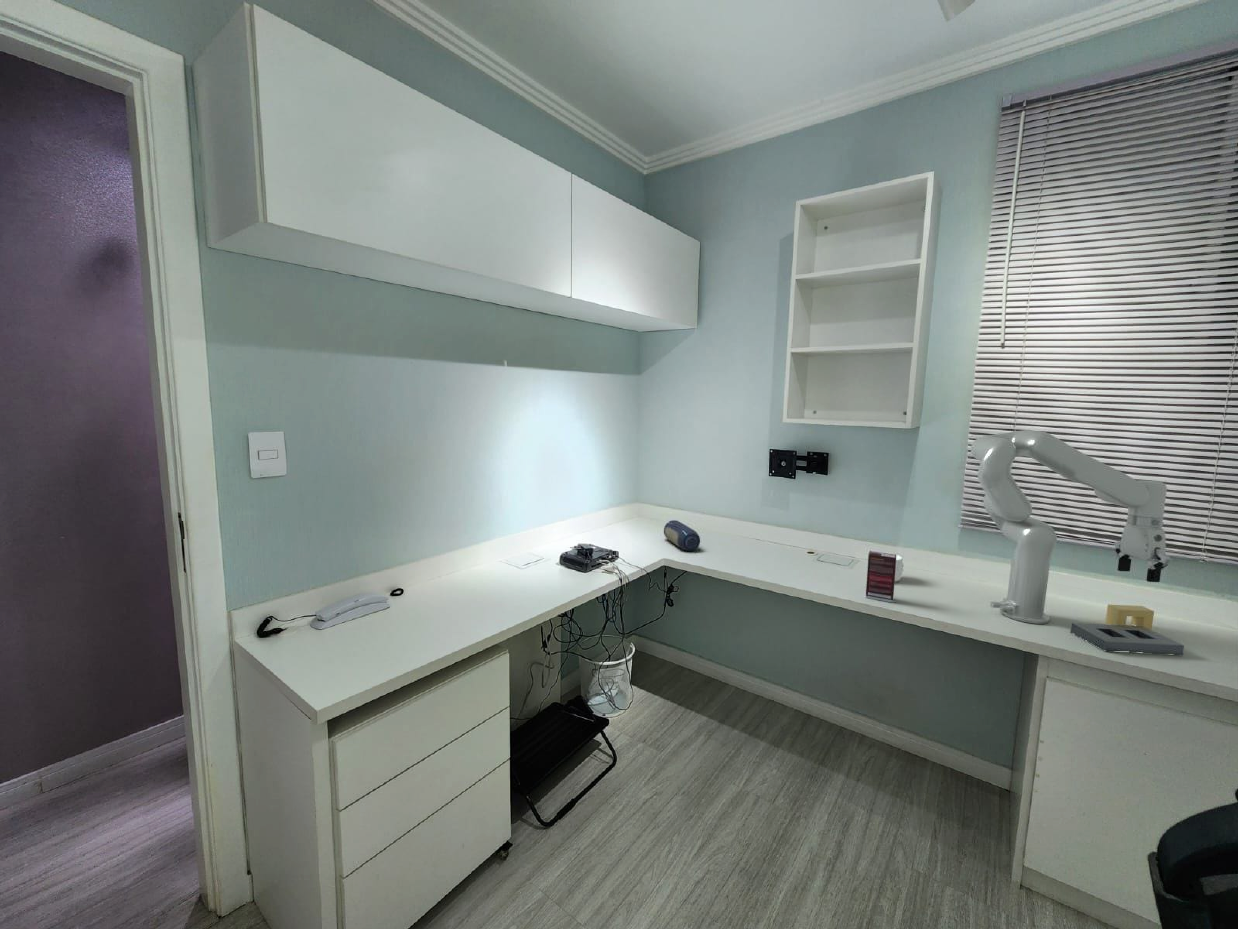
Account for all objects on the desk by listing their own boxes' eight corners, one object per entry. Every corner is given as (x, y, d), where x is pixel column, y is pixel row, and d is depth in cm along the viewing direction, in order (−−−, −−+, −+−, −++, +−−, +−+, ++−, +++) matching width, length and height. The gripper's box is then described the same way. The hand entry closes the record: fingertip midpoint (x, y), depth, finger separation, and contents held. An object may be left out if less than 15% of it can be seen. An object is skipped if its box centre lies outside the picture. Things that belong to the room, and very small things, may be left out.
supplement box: (893, 598, 179) (897, 554, 177) (892, 603, 175) (896, 557, 173) (865, 593, 183) (869, 550, 181) (864, 597, 179) (868, 553, 177)
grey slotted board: (1104, 651, 143) (1106, 641, 142) (1070, 632, 154) (1071, 622, 154) (1182, 656, 141) (1184, 645, 141) (1141, 636, 153) (1143, 626, 153)
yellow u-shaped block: (1116, 628, 158) (1119, 609, 157) (1105, 622, 162) (1107, 604, 161) (1151, 630, 157) (1154, 611, 157) (1139, 624, 161) (1142, 606, 161)
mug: (899, 587, 190) (902, 563, 189) (869, 581, 196) (871, 558, 195) (903, 578, 200) (905, 555, 199) (874, 573, 206) (876, 550, 204)
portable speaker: (660, 539, 250) (661, 518, 249) (679, 537, 253) (680, 517, 251) (681, 554, 226) (682, 531, 225) (702, 552, 229) (703, 530, 228)
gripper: (1186, 528, 147) (1179, 586, 149) (1131, 515, 164) (1125, 567, 166) (1158, 528, 147) (1151, 586, 149) (1106, 515, 164) (1100, 567, 166)
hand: (1137, 576), depth 158 cm, fingers open, 9 cm apart
